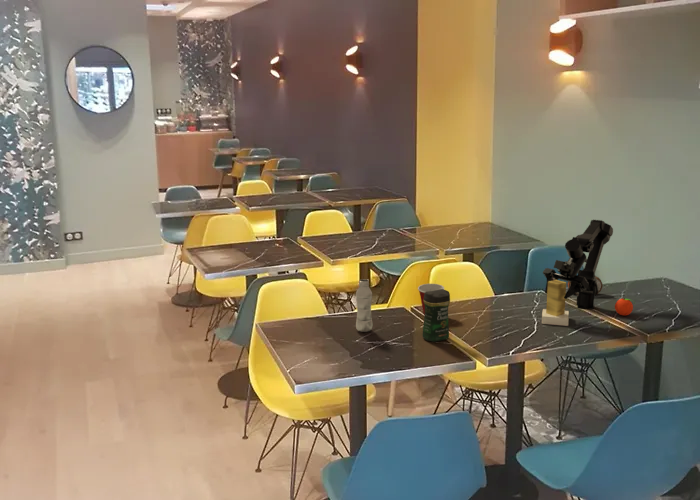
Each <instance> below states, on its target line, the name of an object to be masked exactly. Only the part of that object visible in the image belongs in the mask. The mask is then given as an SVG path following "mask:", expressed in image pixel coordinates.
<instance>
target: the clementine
mask: <svg viewBox="0 0 700 500" xmlns="http://www.w3.org/2000/svg"><path fill="white" fill-rule="evenodd" d="M632 302H633V303H635V301H634V300H632V299H630V298H619V299H618V300H617V301H616V302H615V304H614V309H615V311H616V313H617V314H618V315H619V316H629V315H630V314H631V313H632V312H633V310H634V304H633V303H632Z"/></svg>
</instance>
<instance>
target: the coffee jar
mask: <svg viewBox="0 0 700 500" xmlns="http://www.w3.org/2000/svg"><path fill="white" fill-rule="evenodd" d="M450 295H451V293H450V292H449V291H448V290H446V289H445V288H444V289H440V290H434V291H427V292H425V293H424V305H425V315H424V314H423V325H422V333H421V335H422V338H423V339H424V340H425V341H427V342H429V341H430V342H433V343H434V342H439V341H440V342H441V341H445V340H448V339H449V338H450V326H449V306H450V303H451V296H450Z"/></svg>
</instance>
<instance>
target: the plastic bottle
mask: <svg viewBox="0 0 700 500" xmlns="http://www.w3.org/2000/svg"><path fill="white" fill-rule="evenodd" d="M369 281H370V280H369V279H365V278H363V279H359V282H358V286H359V287H358V288H357V290H356V292H355V300H356V308H357V309H356V310H357V311H356V320H355V321H356V322H355V328H356V330H357V331H358V332H363V333H367V332H370V331H371V330H372V329H373V320H372V300H373V292H372V290H371V288H370V287H369V285H370V283H369Z"/></svg>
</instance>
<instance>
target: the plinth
mask: <svg viewBox="0 0 700 500" xmlns="http://www.w3.org/2000/svg"><path fill="white" fill-rule="evenodd" d="M569 313H570V312H569V310H565V314H563V315H559V316H554V315H550V314H547V313H546V308H543V309H542V313H541V324H542V325H543V324H544V325H553V326H554V325H555V326H566V327H569Z"/></svg>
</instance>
